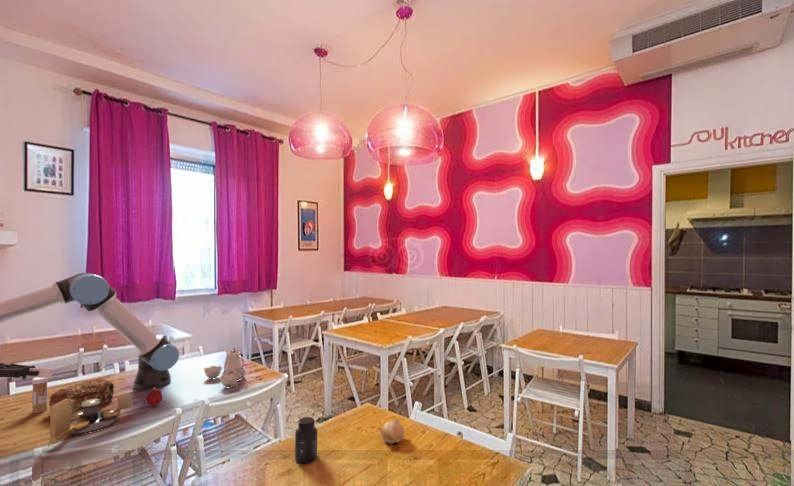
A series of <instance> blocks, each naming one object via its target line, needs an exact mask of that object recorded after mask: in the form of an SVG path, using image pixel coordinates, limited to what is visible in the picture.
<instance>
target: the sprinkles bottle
mask: <svg viewBox="0 0 794 486" xmlns="http://www.w3.org/2000/svg"><path fill="white" fill-rule="evenodd" d="M48 381H49V378H38V377H33V378H32V381H31V384H32V393H31V396H32V398H31V399H32V401H31V403H32V411H31V413H32V414H39V413H43V412H46V411H47V410H48Z"/></svg>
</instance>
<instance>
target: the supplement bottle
mask: <svg viewBox="0 0 794 486" xmlns="http://www.w3.org/2000/svg"><path fill="white" fill-rule="evenodd" d="M317 458H318V428H316V426H315V419H314V417H310V416H305V417H302V418H299V419H298V428H296V430H295V433H294V459H295V462H296V463H297V464H301V465H307V464H310V463H313V462H314V461H316V459H317Z"/></svg>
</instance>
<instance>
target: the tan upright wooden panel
mask: <svg viewBox="0 0 794 486" xmlns="http://www.w3.org/2000/svg"><path fill="white" fill-rule="evenodd" d="M49 421H50V426H49V427H50V428H49V429H50V431H49V438H48V444H49V445H54V444H58V443H60V442H61V441H62V440H64V439H65V438H67V437H70V436H69V435H70V434H72V433H73V432H75V431H78V430H82V429H84V428H87V427H88V426H89V419H78V420H75V421H72V422H70V398H69V399H64V400H62V401H60V402H59V403H57V404H55V405H53V406H51V412H50V418H49Z"/></svg>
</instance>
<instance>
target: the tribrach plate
mask: <svg viewBox="0 0 794 486" xmlns="http://www.w3.org/2000/svg"><path fill="white" fill-rule="evenodd" d="M132 396H133V395H132V394H128V395H123V396H117V407H111V408H107V409H104V410H99V406H98V404H99V403H100V399H90V400H86V401H84V402H82V407H83V410H79V411H75V400H72V399H70V422H72V421H75V420H78V419H89V426H88V427H87V428H84V429H82V430H78V431H75V432H73V433H72V434H70V435H69V436H68V437H71V436H72V437H73V436H75V435H77V436H82V435H81V434H84V435H86V434H85V433H89V432H93V433H95V432H94V431H97V430H100V431H102V430H101V429H103V430H105V429H107V427H108V428H110V427H111V426H113V425H115V424H116V423H117V422H118V421H119V419H120V416H121V411H122V410H126V409H132V405H133V404H132V403H133V401H132V400H133V397H132ZM104 428H105V429H104ZM97 432H98V431H97ZM89 434H90V433H89Z"/></svg>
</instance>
